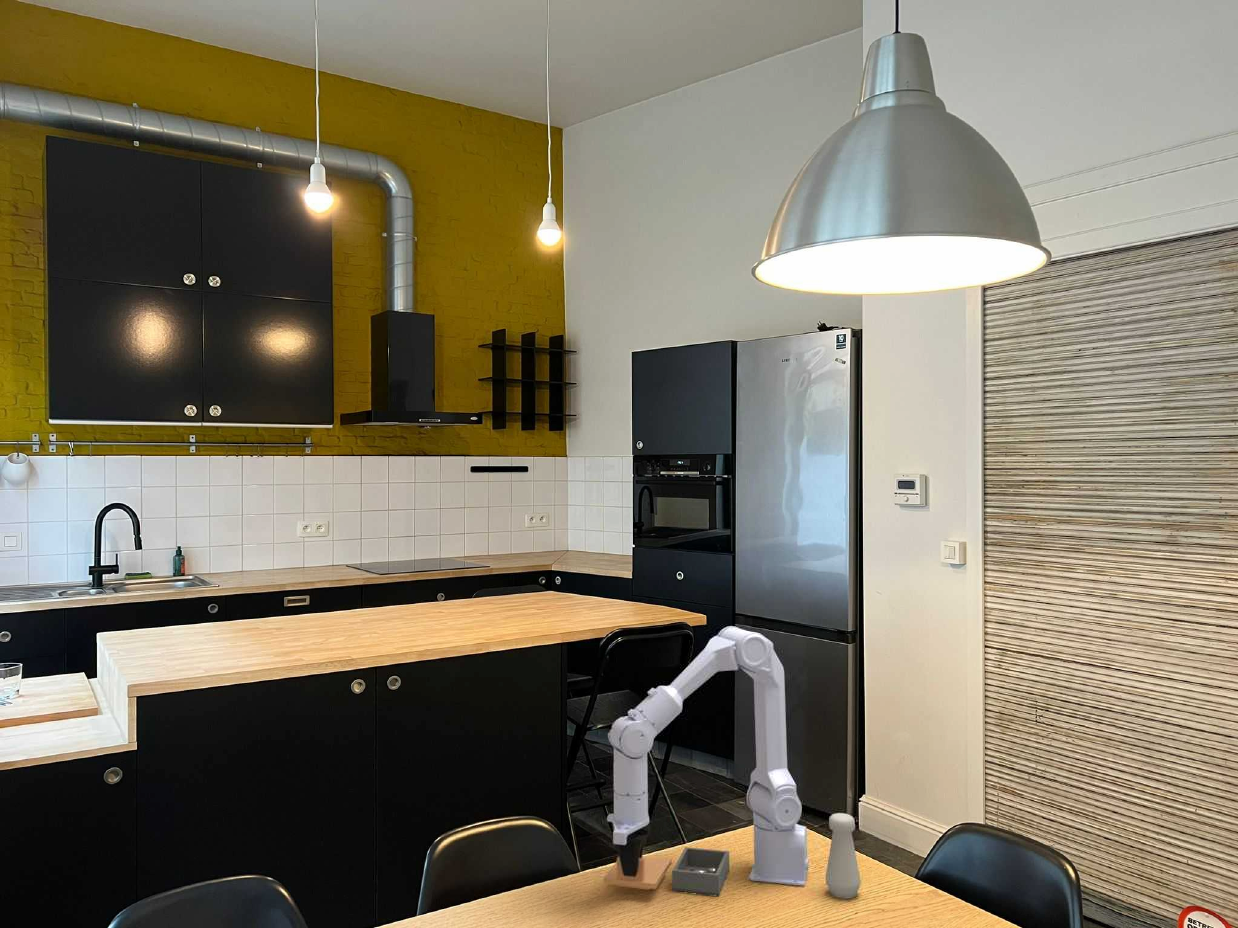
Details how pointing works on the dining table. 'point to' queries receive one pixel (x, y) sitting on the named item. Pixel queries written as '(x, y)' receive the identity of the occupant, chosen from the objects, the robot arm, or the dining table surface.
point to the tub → (700, 871)
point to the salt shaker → (842, 858)
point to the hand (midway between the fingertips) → (631, 873)
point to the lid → (639, 873)
